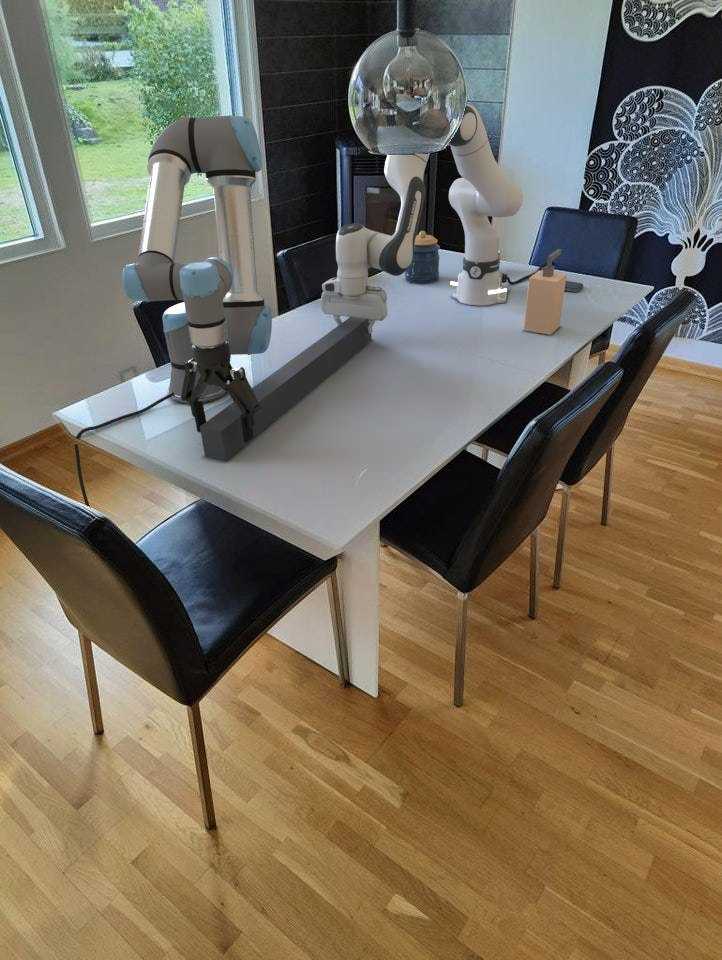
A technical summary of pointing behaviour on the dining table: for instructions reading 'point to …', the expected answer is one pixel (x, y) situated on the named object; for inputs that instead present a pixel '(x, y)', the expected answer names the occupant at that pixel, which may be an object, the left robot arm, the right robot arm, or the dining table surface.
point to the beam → (285, 388)
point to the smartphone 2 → (573, 286)
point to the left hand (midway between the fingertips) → (225, 434)
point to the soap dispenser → (545, 299)
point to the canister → (424, 260)
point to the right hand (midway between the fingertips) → (354, 330)
